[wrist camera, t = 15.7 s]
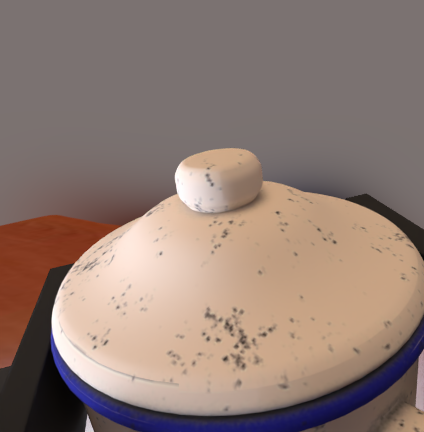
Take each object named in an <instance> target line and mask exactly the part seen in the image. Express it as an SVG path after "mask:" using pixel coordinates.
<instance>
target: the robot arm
mask: <svg viewBox="0 0 424 432" xmlns="http://www.w3.org/2000/svg"><path fill="white" fill-rule="evenodd" d="M345 200H347V201H350V202H353V203H356V204H358V205H361V206H363V207H366V208H368V209H370V210H372V211H374V212H376V213H378V214H380V215H381V216H383V217H385V218H386V219H388V220H389V221H390V222H392V223H393V224H394V225H396V226H397V227H398V228H399V229H400V230H401V231H402V232H403V233H404V234H406V235H407V237H408V238H409V239H410V241H411V242H412V243H413V244H414V246H415V247H416V249H417V250H418V252H419V253H420V255H421V257H422V259H423V261H424V229H422V228H420V227H419V226H417V225H415V224H414V223H412V222H411V221H409V220H407V219H406V218H405V217H403V216H401V215H400V214H398V213H396V212H395V211H393V210H392V209H390V208H389V207H387V206H385V205H384V204H382V203H380V202H379V201H377V200H376V199H374V198H373V197H371V196H370V195H368V194H363V195H358V196H354V197H351V198H346V199H345ZM73 265H74V263H73V264H69V265H65V266H61V267H56V268H52V269H50V271H49V273H48V276H47V278H46V281H45V283H44V286H43V288H42V291H41V293H40V296H39V298H38V301H37V303H36V306H35V308H34V311H33V313H32V316H31V318H30V321H29V323H28V325H27V328H26V330H25V333H24V335H23V338H22V340H21V343H20V345H19V348H18V350H17V353H16V355H15V358H14V360H13V363H12V365H11V366H9V367H5V368H1V369H0V432H85V427H86V420H87V411H86V408H85V405H84V403H83V402H82V401H81V400H80V399H79V398H78V397H77V396H76V395H75V394H74V393H73V392H72V391H71V390H70V388H69V387H68V386H67V384H66V383H65V381H64V380H63V378H62V377H61V375H60V373H59V371H58V368H57V366H56V364H55V361H54V357H53V353H52V349H51V329H52V312H53V307H54V304H55V300H56V296H57V293H58V291H59V288H60V286H61V284H62V282H63V280H64V279H65V277H66V275H67V274H68V272H69V270H70V269H71V268H72V267H73Z"/></svg>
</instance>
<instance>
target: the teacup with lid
mask: <svg viewBox="0 0 424 432" xmlns="http://www.w3.org/2000/svg"><path fill="white" fill-rule="evenodd" d="M175 182H176V187H177V193H178V194H176V195H174V196H172V197H170V198H168V199H166V200H164V201H162V202H161V203H159V204H158V205H157V206H155V207H154V208H152V209H151V210H150V211H148V212H147V213H146V214H145V215H144V216H142V217H140V218H138V219H136V220H133V221H131V222H129V223H127V224H126V225H124V226H122V227H120V228H118V229H116V230H115V231H113V232H111V233H110V234H108V235H107V236H105V237H104V238H102V239H101V240H100V241H98V242H97V243H96V244H95V245H93V246H92V247H91V248H90V249H89V250H88V251H87V252H85V253H84V254H83V255H82V256H81V257H80V258H79V260H78V261H77V262H76V263H75V264H74V265H73V267H72V268H71V269H70V270H69V272H68V274H67V275H66V277H65V279H64V280H63V282H62V284H61V286H60V288H59V291H58V293H57V296H56V300H55V304H54V307H53V312H52V329H51V349H52V353H53V357H54V361H55V364H56V366H57V368H58V371H59V373H60V375H61V377H62V378H63V380H64V381H65V383H66V384H67V386H68V387H69V388H70V390H71V391H72V392H73V393H74V394H75V395H76V396H77V397H78V398H79V399H80V400H81V401H82V402H83V403H84V405H85V408H86V411H87V414H88V416H89V419H90V422H91V424H92V427H93V430H94V432H424V412H423V411H421V410H419V409H417V408H416V407H415V404H416V389H417V374H418V359H419V355H420V354H421V352H422V351H423V349H424V261H423V259H422V257H421V255H420V253H419V252H418V250H417V249H416V247H415V246H414V244H413V243H412V242H411V241H410V239H409V238H408V237H407V235H406V234H404V233H403V232H402V231H401V230H400V229H399V228H398V227H397V226H396V225H394V224H393V223H392V222H390V221H389V220H388V219H386V218H385V217H383V216H381V215H380V214H378V213H376V212H374V211H372V210H370V209H368V208H366V207H363V206H361V205H358V204H356V203H353V202H350V201H347V200H343V199H339V198H335V197H331V196H326V195H321V194H315V193H307V192H302V191H300V190H298V189H295V188H292V187H289V186H286V185H283V184H279V183H275V182H268V181H263V177H262V168H261V164H260V161H259V160H258V158H257V157H256V156H255V155H254V154H253V153H251V152H250V151H247V150H244V149H237V148H228V149H217V150H210V151H206V152H202V153H198V154H195V155H192V156H190V157H189V158H186V159H185V160H183V161H182V162H181V163H180V165H179V166H178V169H177V171H176V174H175Z"/></svg>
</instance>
